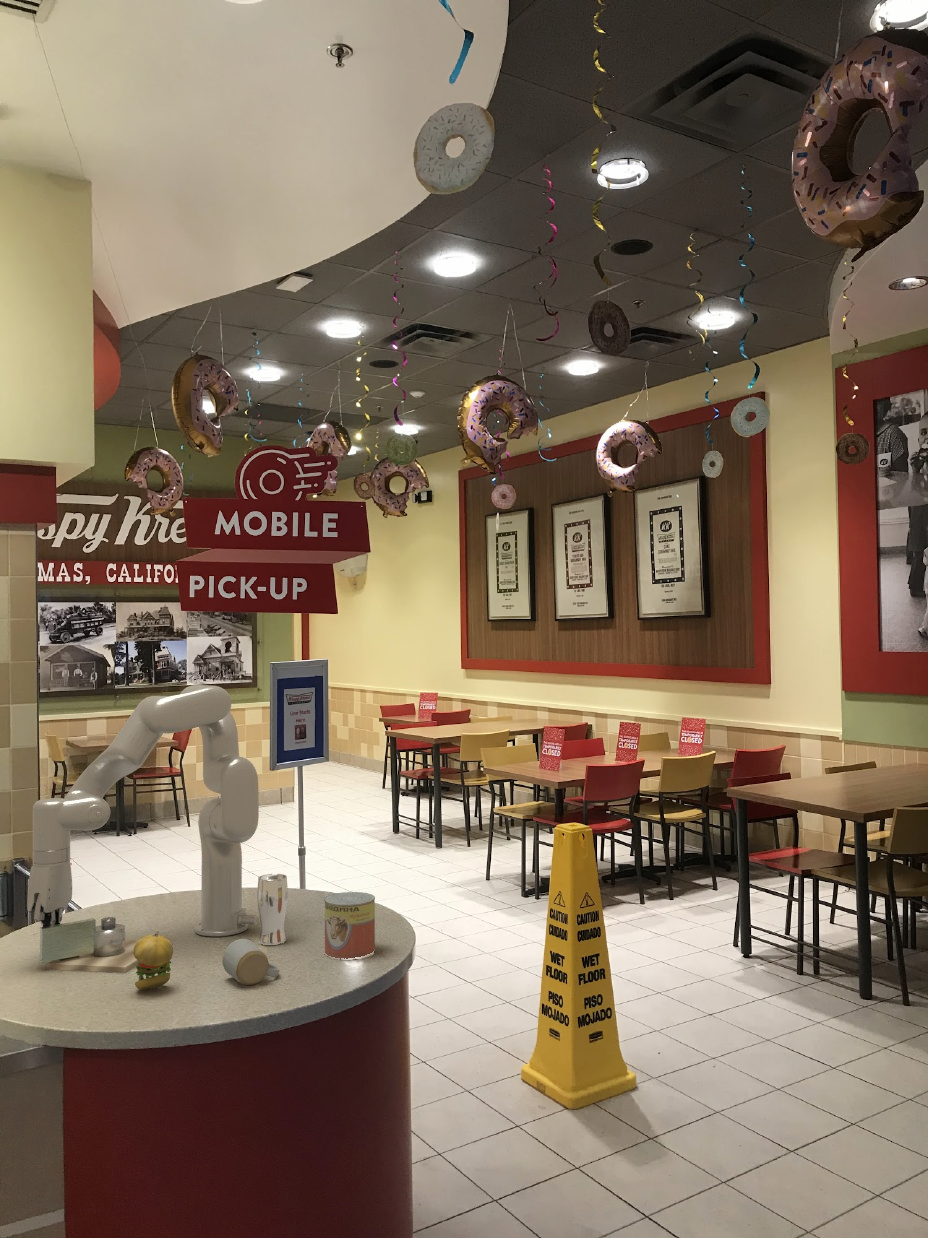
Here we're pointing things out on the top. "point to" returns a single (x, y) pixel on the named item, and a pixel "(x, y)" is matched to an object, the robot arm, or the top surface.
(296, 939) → the top surface
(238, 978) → the ceramic mug
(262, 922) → the beer glass
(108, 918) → the green panel with knob
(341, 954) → the canned food
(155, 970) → the hamburger
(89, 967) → the board
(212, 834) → the robot arm
